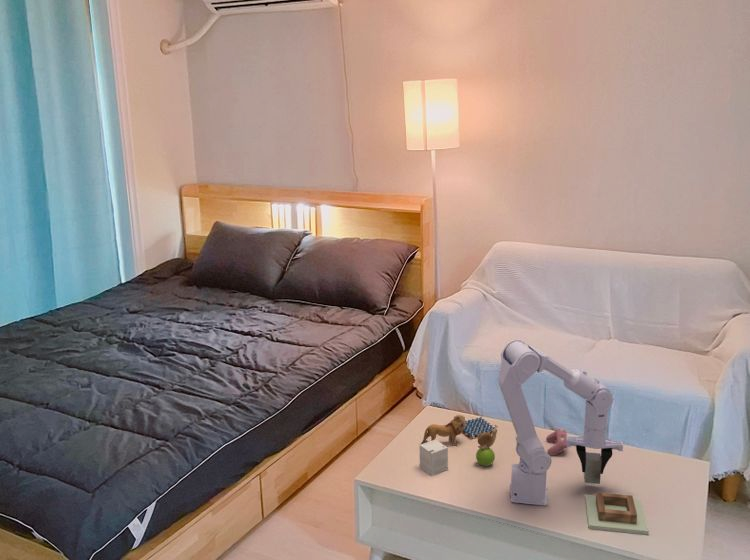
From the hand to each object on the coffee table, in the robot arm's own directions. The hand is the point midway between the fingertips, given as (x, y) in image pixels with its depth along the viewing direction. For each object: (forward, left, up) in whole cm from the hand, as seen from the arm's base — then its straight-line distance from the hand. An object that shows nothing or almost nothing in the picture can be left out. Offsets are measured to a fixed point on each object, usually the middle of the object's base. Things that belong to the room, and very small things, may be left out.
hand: (592, 471), depth 192 cm
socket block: (+5, -12, -5) cm, 14 cm away
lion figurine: (-43, +19, -6) cm, 47 cm away
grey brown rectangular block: (0, 0, -3) cm, 2 cm away
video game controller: (-9, +21, -6) cm, 23 cm away
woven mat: (-34, +29, -6) cm, 45 cm away
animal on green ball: (-29, +8, -6) cm, 31 cm away
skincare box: (-44, +3, -6) cm, 44 cm away
